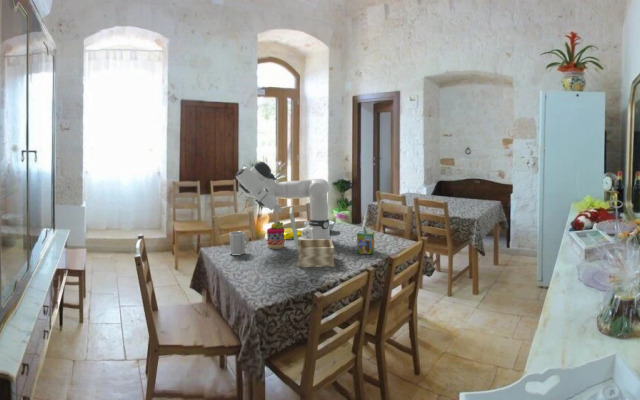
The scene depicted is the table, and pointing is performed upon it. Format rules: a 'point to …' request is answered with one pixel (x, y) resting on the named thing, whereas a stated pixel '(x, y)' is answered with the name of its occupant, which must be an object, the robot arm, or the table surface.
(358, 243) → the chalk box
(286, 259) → the table surface
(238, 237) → the cup
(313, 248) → the birch box
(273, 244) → the cake
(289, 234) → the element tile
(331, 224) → the serving bowl
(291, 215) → the lid
